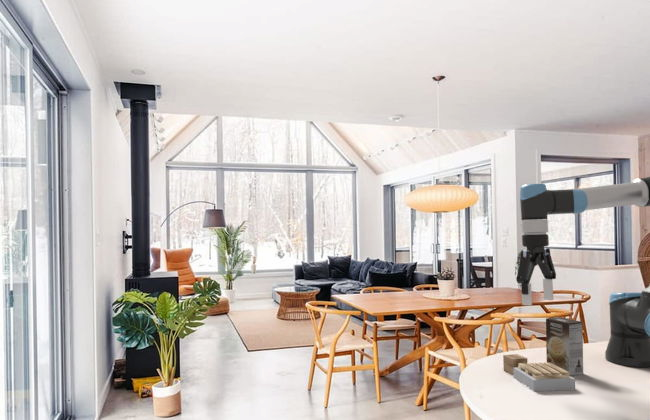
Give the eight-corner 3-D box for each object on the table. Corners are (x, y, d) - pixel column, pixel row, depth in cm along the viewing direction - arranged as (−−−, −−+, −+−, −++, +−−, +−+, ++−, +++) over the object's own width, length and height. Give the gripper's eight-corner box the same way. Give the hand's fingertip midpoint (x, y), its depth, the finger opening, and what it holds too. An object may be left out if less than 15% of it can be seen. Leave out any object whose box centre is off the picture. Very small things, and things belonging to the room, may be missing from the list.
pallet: (550, 367, 145) (550, 362, 145) (569, 377, 135) (569, 372, 135) (518, 368, 144) (518, 363, 144) (535, 378, 134) (534, 373, 134)
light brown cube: (517, 369, 153) (517, 354, 153) (527, 374, 148) (527, 358, 149) (503, 371, 152) (503, 355, 152) (513, 375, 147) (513, 359, 147)
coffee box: (545, 368, 155) (544, 317, 155) (560, 366, 157) (559, 316, 157) (569, 376, 146) (568, 322, 147) (584, 373, 148) (583, 321, 149)
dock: (551, 376, 146) (551, 366, 146) (575, 389, 134) (575, 378, 134) (513, 377, 145) (513, 367, 145) (533, 391, 133) (533, 380, 133)
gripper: (542, 232, 161) (545, 296, 160) (502, 235, 145) (505, 306, 144) (565, 232, 155) (568, 298, 154) (526, 235, 139) (529, 309, 138)
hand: (538, 302), depth 149 cm, fingers open, 13 cm apart
